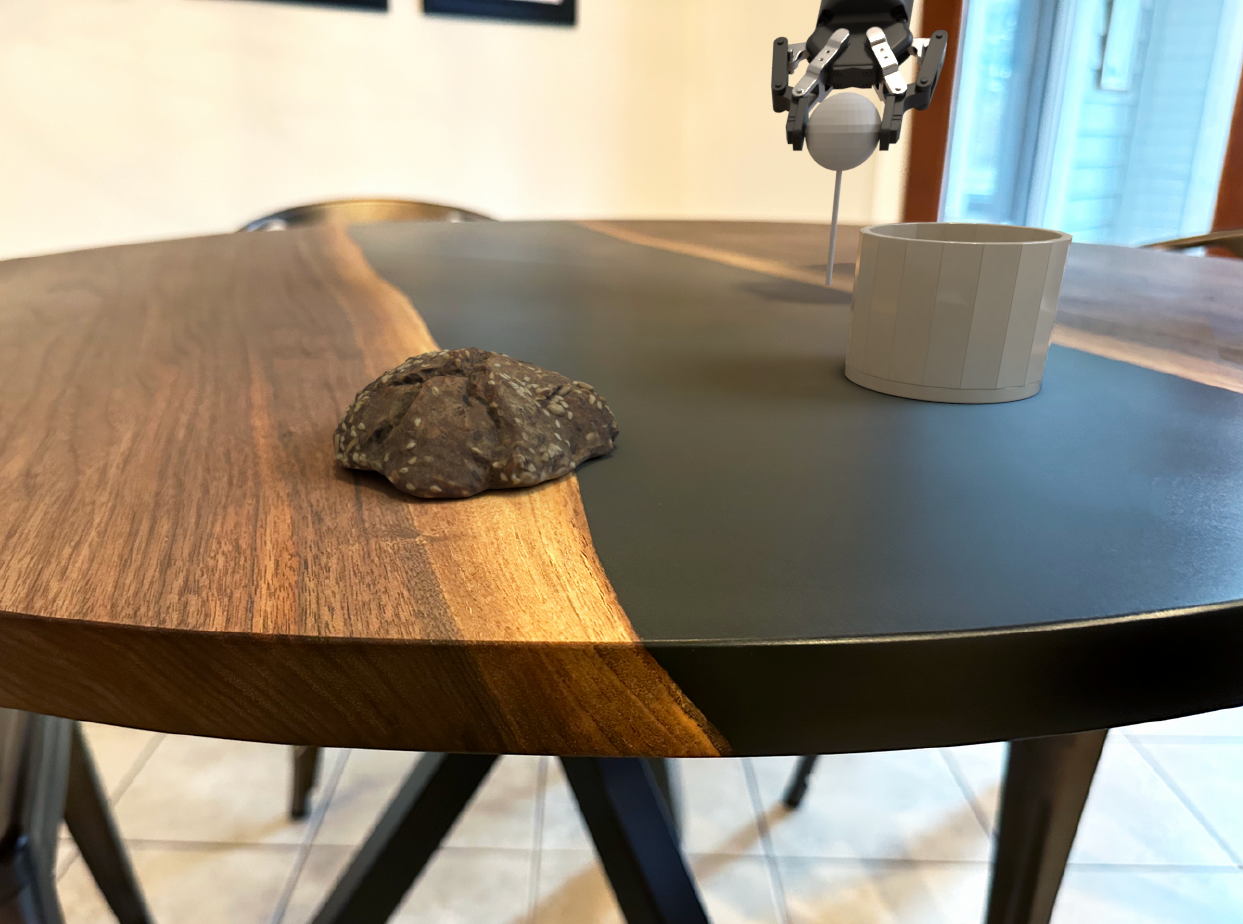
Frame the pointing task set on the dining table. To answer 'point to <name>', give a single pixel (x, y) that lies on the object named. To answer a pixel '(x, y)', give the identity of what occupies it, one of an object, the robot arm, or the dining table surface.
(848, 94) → the lollipop
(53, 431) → the dining table surface
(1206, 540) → the dining table surface
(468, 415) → the bread roll
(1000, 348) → the white plant pot
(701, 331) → the dining table surface
